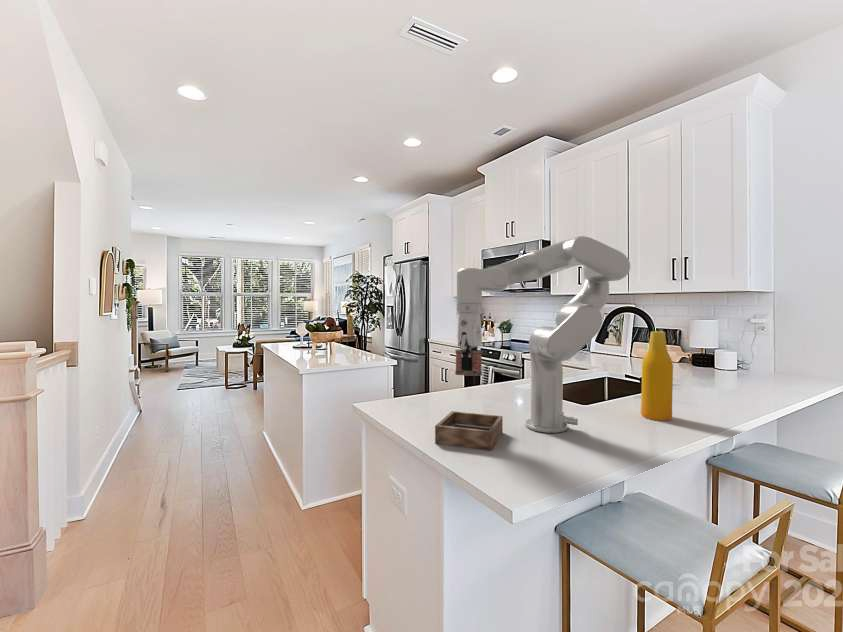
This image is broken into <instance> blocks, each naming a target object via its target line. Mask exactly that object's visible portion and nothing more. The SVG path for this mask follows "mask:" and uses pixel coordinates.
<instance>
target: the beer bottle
mask: <svg viewBox="0 0 843 632" xmlns="http://www.w3.org/2000/svg"><path fill="white" fill-rule="evenodd" d="M666 337H667V336H666V332H665V331H650V336H649V342H648V348H647V352H646V353H645V354H644V356H643V358H642V359H643V360H642V362H641V363H642V364H641V398H640V399H641V404H640V405H641V406H640V414H641V416H642V418H645V419H648V420H651V421H658V422H659V421H661V422H663V421H664V422H665V421H667V422H668V421H670V420H672V417H673V387H674V386H673V385H674V384H673V383H674V380H673V379H674V377H673V375H674V364H673V360H672V357H671V355H670V354H669V351H668V347H667V340H666V339H667V338H666Z"/></svg>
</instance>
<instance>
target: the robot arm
mask: <svg viewBox="0 0 843 632" xmlns="http://www.w3.org/2000/svg"><path fill="white" fill-rule="evenodd" d="M629 259H630V258H628V257H627V256H626V254H624V253H623V252H621V251H620V250H617V249H616V248H613V247H612V246H609V245H607V244H605V243H603V242H601V241H599V240H597V239H594V238H592V237H590V236H589V237H588V236H586V235H581V236H580V235H579V236H576V237H573V238H569V239H565V240H563V241H559V242H556V243H554V244H551V245H547V246H546V247H543V248H539V249H537V250H534V251H531V252H528V253H526V254H523V255H521V256H519V257H516V258H515V259H511V260H509V261H505V262H503V263H500V264H496V265H494V266H491V267H487V268H486V267H485V268H479V267H478V268H477V267H463V268H459V269H458V270H457V272H456V315H458V323H457V325H458V326H457V346H458V345H459V346H458V347H459V349H460V350H461V352H462V353H461V357H462V370H463V371H472V357H471V351H472V348H474V350H475V347H477V346H478V347H480V346H481V345H482V344H483V339H482V338H483V335H482V334H483V333H482V317H481V315H482V313H483V301H482V300H483V298H482V297H483V294H482V293H488V294H489V293H490V294H491V293H500V292H504V290H507V288H508V286H509V287H510V286H512V285H515V284H519V283H522V282H529V281H530V282H531V281H535V280H539V279H542V278H545V277H548V276H551V275H553V274H556V273H558V272H561V271H563V270H566V269H570V268H573V267H576V266H583V278H584V280H583V281H584V282H583V286H582V288H581V289H580V290H579V291H578V293H577V294H576V295H574V297H572V298H571V299H570V300H569V301H567V303H566V304H565V305H563V307H562V308H561V309H560V310H559V311H558V312H557V314H556V316H555V324H556V326H557V327H553V326H540V327H537V328H536V329H534V330H533V332H532V333H531V334H530V335H529V340H528V350H529V351H528V352H529V356H530V357H529V358H530V369H531V370H530V418H528V419H527V420H525V426H526V427H527V428H528V429H530V430H532V431H535V432H539V433H546V434H547V433H548V434H549V433H550V434H551V433H552V434H557V433H563V432H565V431H567V430H568V428H569V427H568V426H569V425H572V426H579V425H578V421H579V419H578V418H575V417H573V416H566V415H565V413H564V412H565V411H563V401H564V400H563V395H564V394H563V393H564V392H563V390H564V389H563V388H564V387H563V385H564V380H563V379H564V369H563V362H565V361H568V360H570V359H571V358H573V357H575V355H576V354H577V353H578V352H580V351H581V350H582V349H583V348H584V347H585V346H586V345H587V344H588V343H589V342H590V341H591V340H592V339H593V338H594V337H595V336H597V334H598V333H599V332H600V330H601V328H602V325H603V314H602V312H601V310H602V309H603V308H604V307H605V305H606V304H607V302H608V300H609V297H610V282H615V281H621V280H622V279H624V278H626V277H627V275H629V273H630V271H631V270H630V269H631V262H630V260H629ZM466 345H469V347H467V346H466ZM468 349H469V352H468Z"/></svg>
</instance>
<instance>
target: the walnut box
mask: <svg viewBox="0 0 843 632" xmlns="http://www.w3.org/2000/svg"><path fill="white" fill-rule="evenodd" d="M503 424H504V423H503V415H496V414H495V415H493V414H485V413H483V414H482V413H473V412H462V411H453V410H452V411H450V412H449V413H448V414H447V415H445V416H444V417H443V418H442V419H441V420H440V421H439V422H438V423H436V424H435V426H434V433H435V435H434V437H435V438H434V440H435V441H434V444H435V445H436V444H437V445H445V446H451V447H452V446H454V447H460V448H461V447H462V448H466V449H467V448H468V449H476V450H484V451H491V452H492V451H493V449H494V448H495V445H497V443H498V441H499V439H500V437H501V436H502V434H503V431H504V430H503V429H504V428H503Z"/></svg>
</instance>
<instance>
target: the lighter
mask: <svg viewBox="0 0 843 632" xmlns="http://www.w3.org/2000/svg"><path fill="white" fill-rule="evenodd" d="M457 347H460V346H459V345H458V344H457ZM466 347H469V345H466ZM478 348H479V346H477V347H475V350H474V348H472V351H471V357H472V371H463V370H462V357H461V353H462V352H461V350H460V348H459V349H455V372H454V374H455V376H472V377H473V376H475V377H476V376H478V377H479V376H483V373H482V353H483V350H482V349H478ZM468 352H469V349H468Z"/></svg>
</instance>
